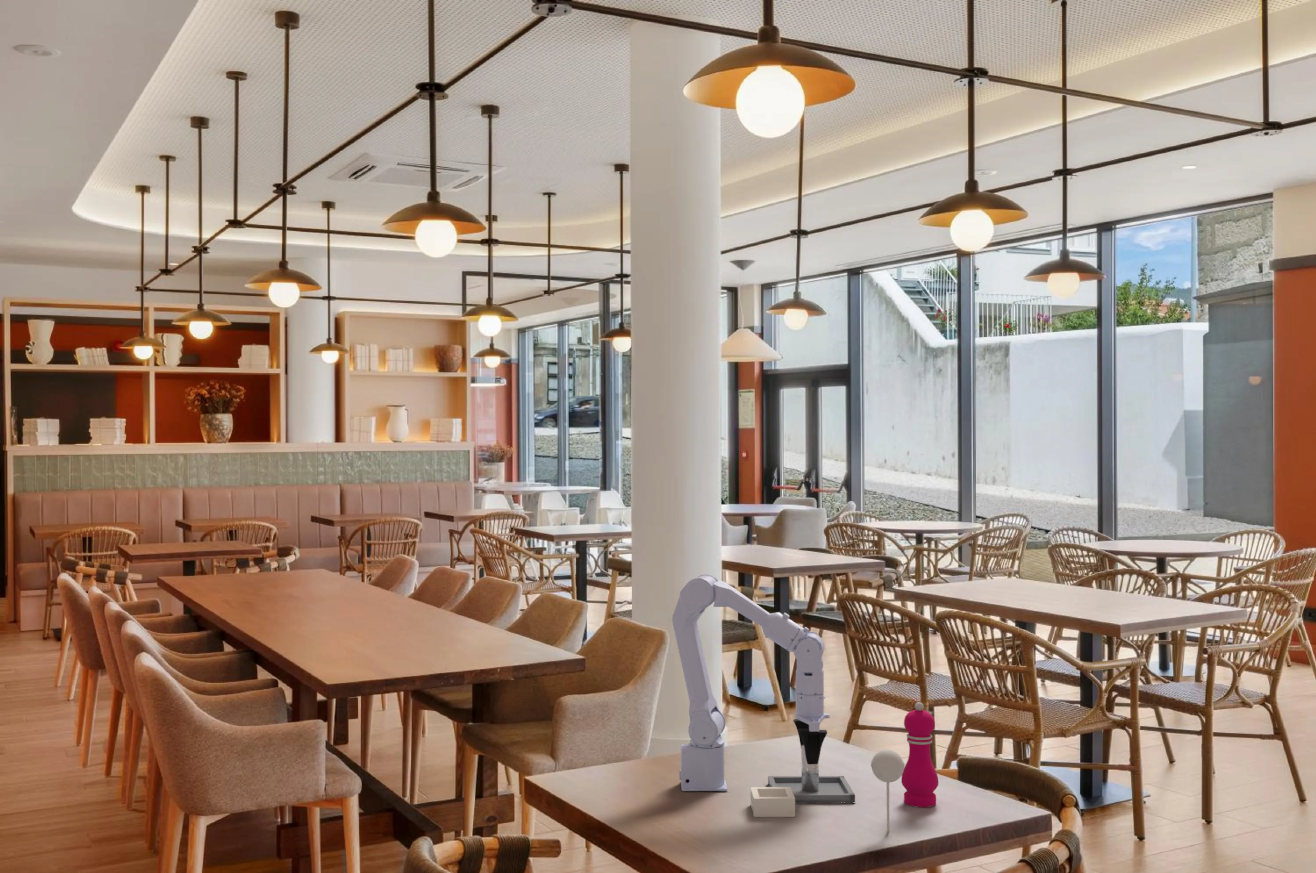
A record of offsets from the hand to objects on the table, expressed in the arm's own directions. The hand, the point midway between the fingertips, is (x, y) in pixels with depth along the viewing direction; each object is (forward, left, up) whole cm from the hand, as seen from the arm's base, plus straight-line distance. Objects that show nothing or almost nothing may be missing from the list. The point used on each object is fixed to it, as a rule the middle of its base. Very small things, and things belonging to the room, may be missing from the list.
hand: (809, 758), depth 235 cm
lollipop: (+11, -25, -7) cm, 28 cm away
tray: (0, 0, -7) cm, 7 cm away
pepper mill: (+21, -7, -7) cm, 23 cm away
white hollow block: (-9, -12, -7) cm, 16 cm away
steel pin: (0, 0, -6) cm, 6 cm away
